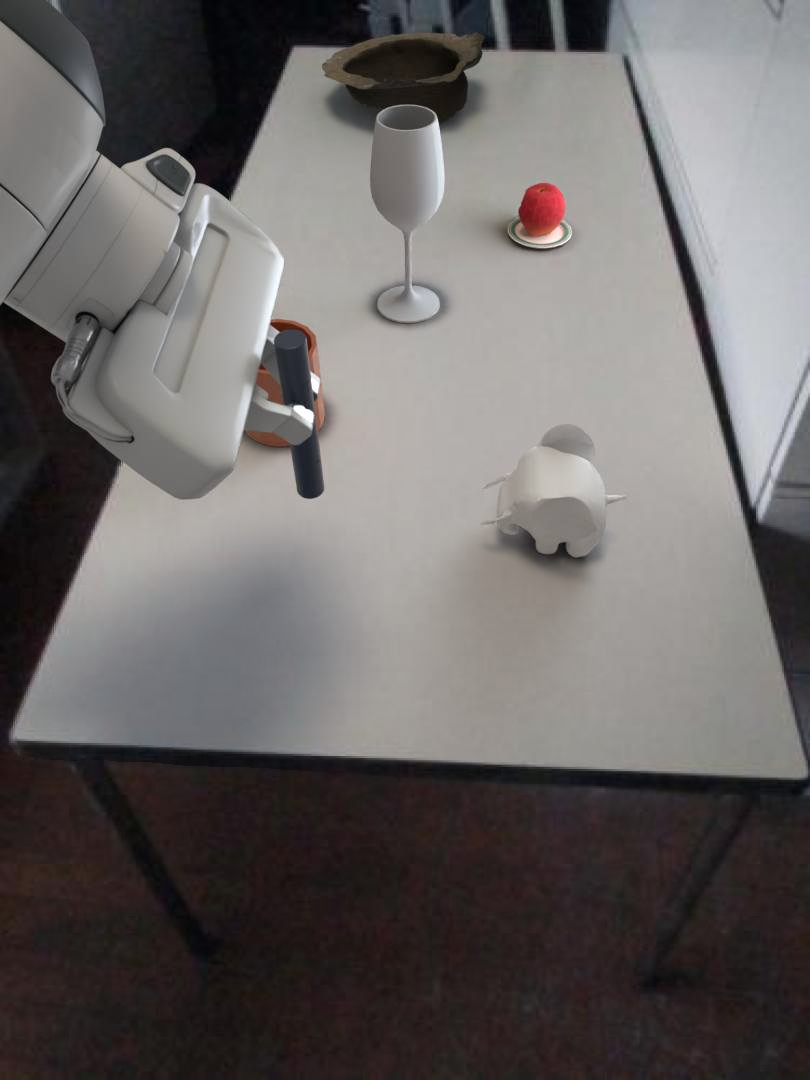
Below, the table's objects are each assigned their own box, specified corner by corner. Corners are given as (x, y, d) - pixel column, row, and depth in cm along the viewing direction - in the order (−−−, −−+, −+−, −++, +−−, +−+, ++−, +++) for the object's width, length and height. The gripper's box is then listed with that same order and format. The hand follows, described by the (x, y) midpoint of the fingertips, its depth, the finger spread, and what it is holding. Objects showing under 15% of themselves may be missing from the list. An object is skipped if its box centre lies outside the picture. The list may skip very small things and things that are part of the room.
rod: (304, 503, 55) (282, 352, 46) (292, 486, 56) (268, 335, 47) (329, 492, 56) (312, 341, 47) (316, 475, 57) (297, 325, 48)
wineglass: (401, 279, 102) (397, 94, 86) (454, 300, 99) (461, 113, 83) (362, 309, 98) (351, 122, 82) (416, 332, 95) (416, 142, 79)
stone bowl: (491, 137, 125) (490, 70, 118) (322, 151, 127) (312, 86, 120) (482, 67, 141) (481, 4, 134) (333, 81, 143) (324, 20, 136)
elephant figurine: (482, 486, 79) (488, 413, 72) (613, 497, 78) (632, 423, 71) (475, 566, 73) (481, 494, 66) (618, 578, 72) (638, 507, 65)
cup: (264, 458, 82) (250, 384, 75) (229, 410, 87) (213, 337, 80) (339, 427, 85) (332, 353, 78) (301, 382, 89) (291, 309, 82)
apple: (523, 256, 105) (528, 206, 100) (497, 224, 110) (501, 175, 105) (582, 244, 106) (590, 194, 101) (554, 213, 111) (560, 164, 106)
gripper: (72, 356, 35) (325, 519, 43) (179, 133, 49) (358, 285, 56) (6, 433, 39) (250, 571, 46) (122, 206, 52) (298, 340, 59)
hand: (310, 413), depth 51 cm, fingers closed on rod, 2 cm apart
